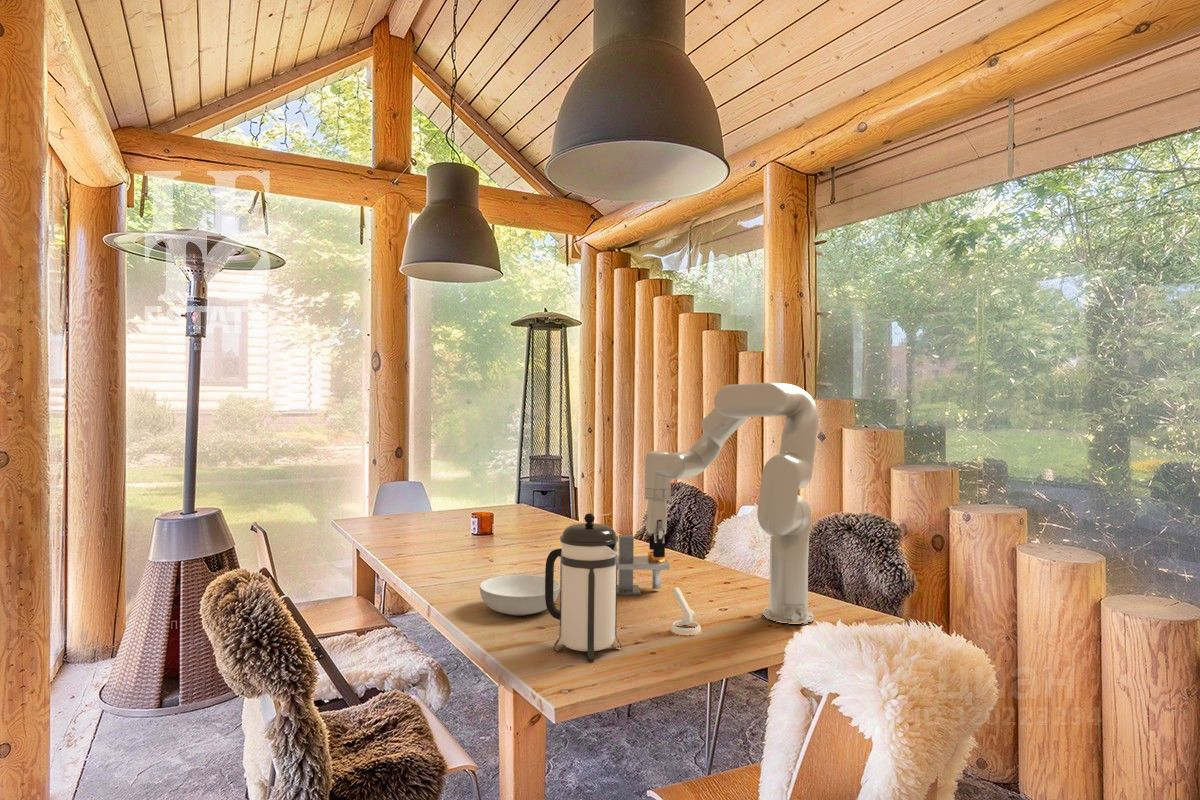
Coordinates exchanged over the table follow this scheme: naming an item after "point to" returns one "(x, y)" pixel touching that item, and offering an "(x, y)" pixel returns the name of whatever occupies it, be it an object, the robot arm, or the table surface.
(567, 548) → the coffee press
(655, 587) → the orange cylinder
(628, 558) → the grey cross bracket
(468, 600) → the table surface
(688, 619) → the white ring with handle
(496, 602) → the serving bowl
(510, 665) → the table surface
